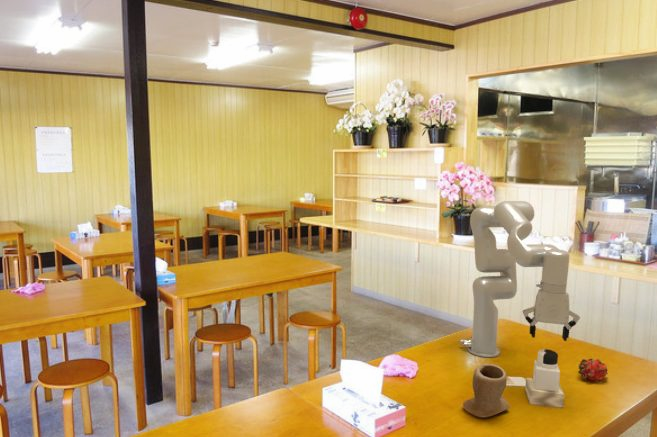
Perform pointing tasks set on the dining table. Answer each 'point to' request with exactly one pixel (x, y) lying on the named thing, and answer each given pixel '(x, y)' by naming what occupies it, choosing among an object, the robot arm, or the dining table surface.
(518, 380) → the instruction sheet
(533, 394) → the base block
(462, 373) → the dining table surface
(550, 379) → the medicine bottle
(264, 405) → the dining table surface
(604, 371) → the dragon fruit
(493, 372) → the stone cup
